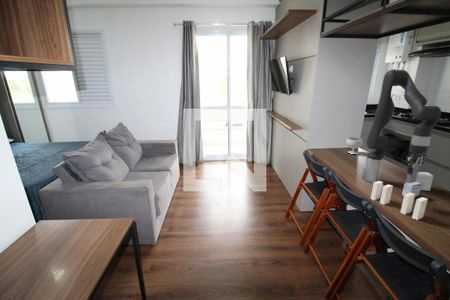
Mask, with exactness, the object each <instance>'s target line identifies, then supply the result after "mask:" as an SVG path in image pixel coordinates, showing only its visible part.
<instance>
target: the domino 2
mask: <svg viewBox="0 0 450 300" xmlns="http://www.w3.org/2000/svg"><path fill="white" fill-rule="evenodd" d="M393 188H394V185H391V184H386V185H382V190H381V195H380V201H379V204H381V205H383V206H384V205H387V204H390V201H391V196H392V192H393Z"/></svg>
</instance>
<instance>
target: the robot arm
mask: <svg viewBox="0 0 450 300" xmlns="http://www.w3.org/2000/svg"><path fill="white" fill-rule="evenodd" d="M393 87H401V88H402V89H403V90H404V94H403V95H404V96H403V98H404V101H406V103H407V104H408V105H409V107H410V108H411V109H410V110H411V111H412V112H411V113H412V116H413V117H414V118H415V119H416V120H420V121H422V122H421V123H418V124H416V125H415V126H414V130H413V134H412V137H411V140H410V144H409V148H408V151H409V152H410V153H411V154H410V156H406V160H405V167H407V171H406V172H407V173H406V174H412V173H413V169H414V166H415V165H416V164H417V163H420V166H419V170H418V172H420V168H421V166H422V165H424V163H425V159H426V157H427V153H428V150H429V148H430V143H431V137H432V133H433V128H434V127H435V126H436V124H437V122H438V121H439V119H440V117H441V114H442V110H441V108H440V106H438V105H427V103H428V99H427V98H426V97H425V95H423V93H421V92H420V90H419V89H418V88H417V86H416V84H415V83H414V81H413V79H412V77H411V75H410V74H409V72H408V71H407V70H404V69H393V70H392V69H390V70H387V72H386V73H385V74H384V76H383V79H382V85H381V89H380V91H381V92H380V96H379V101H378V104H377V107H376V110H375V114H374V119H373V122H372V125H371V128H370V131H369V133H368V135H367V139H366V147H367V148H368V149H369V150H371V151H370V152H367V154H366V161H365V166H363V169H362V176H361V179H362V180H363V181H364V182H367V183H371V184H373V183H374V182H377V181H380V180H379V179H380V174H381V168H382V164H383V160H384V157H385V155H386V152H387V148H388V142H389V141H388V138H387V137H386V136H385V135H381V133H382V131H383V129H384V128H385V127H386V126H387V124H389V122H390V121H391V120H392V118H393V115H394V113H395V112H394V111H395V108H396V107H395V102H394V100H393V98H392V90H393Z"/></svg>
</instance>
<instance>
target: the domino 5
mask: <svg viewBox="0 0 450 300" xmlns="http://www.w3.org/2000/svg"><path fill="white" fill-rule="evenodd" d="M427 204H428V198H427V197H425V196H424V197H423V196H422V197H419V198H417V199H416V200H415V204H414V209H413V213H412V215H411V218H412V219H414V220H415V219H416V221H419V220H421V219H422V218H424V215H425V211H426V207H427Z"/></svg>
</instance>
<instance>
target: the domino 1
mask: <svg viewBox="0 0 450 300" xmlns="http://www.w3.org/2000/svg"><path fill="white" fill-rule="evenodd" d="M383 183H384V182H383V181H381V180H378V181H377V182H374V183H372V185H373V186H372V190H371V195H370V199H371V200H372V201H377V200H379V199H381V194H382V189H383V186H384V184H383Z"/></svg>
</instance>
